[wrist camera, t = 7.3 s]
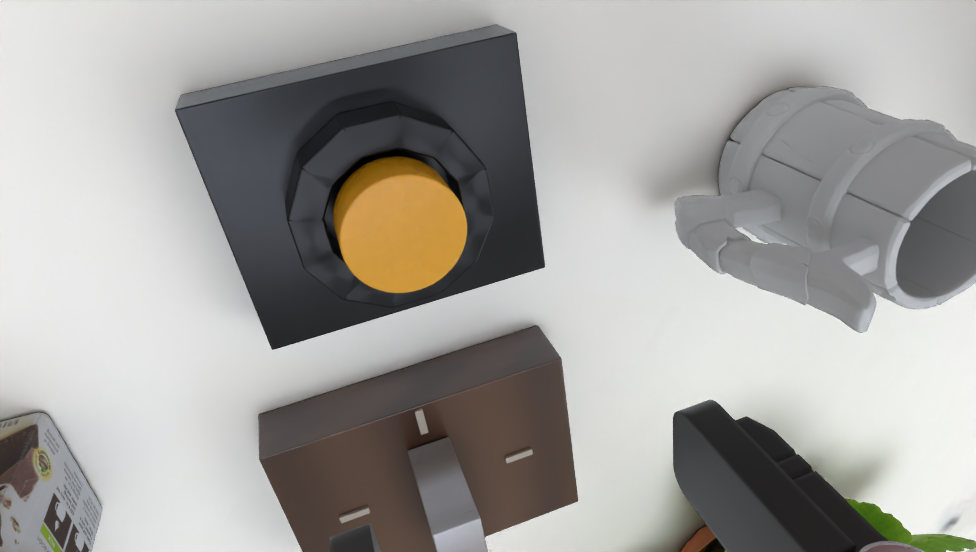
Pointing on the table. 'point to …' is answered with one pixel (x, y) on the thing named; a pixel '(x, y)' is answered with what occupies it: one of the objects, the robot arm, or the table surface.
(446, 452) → the dial knob
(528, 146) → the button housing
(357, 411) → the dial panel
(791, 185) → the mug
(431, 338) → the table surface
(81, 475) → the coffee box
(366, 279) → the button
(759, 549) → the robot arm
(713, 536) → the potted flower
